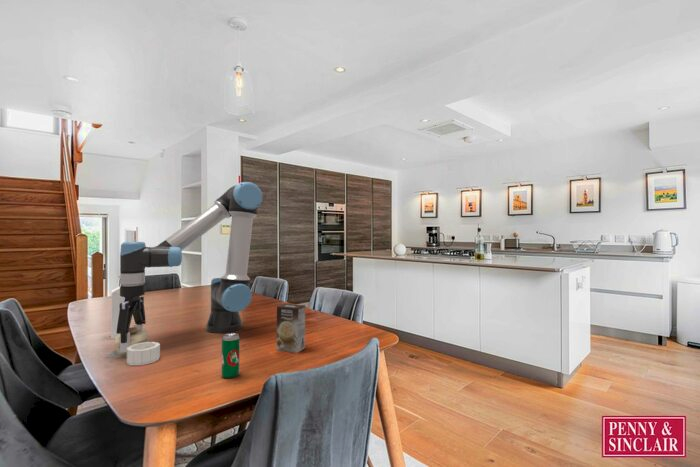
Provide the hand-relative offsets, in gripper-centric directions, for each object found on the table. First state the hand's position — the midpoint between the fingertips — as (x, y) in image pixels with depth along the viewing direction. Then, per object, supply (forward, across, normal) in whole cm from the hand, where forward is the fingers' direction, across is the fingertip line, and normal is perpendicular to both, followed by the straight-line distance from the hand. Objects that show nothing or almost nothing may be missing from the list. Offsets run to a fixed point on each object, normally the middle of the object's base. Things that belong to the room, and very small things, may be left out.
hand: (131, 346), depth 120 cm
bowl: (+2, +11, +8) cm, 14 cm away
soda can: (+2, +28, +38) cm, 47 cm away
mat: (+2, 0, 0) cm, 2 cm away
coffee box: (+2, +7, +56) cm, 56 cm away
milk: (+2, -21, -13) cm, 25 cm away
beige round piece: (+1, 0, 0) cm, 1 cm away
